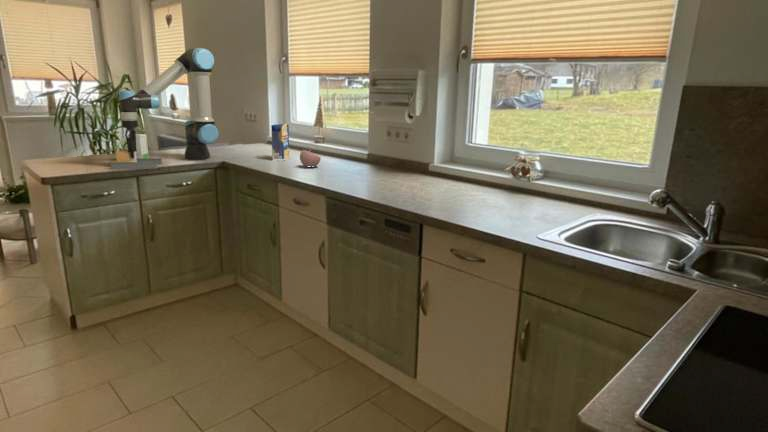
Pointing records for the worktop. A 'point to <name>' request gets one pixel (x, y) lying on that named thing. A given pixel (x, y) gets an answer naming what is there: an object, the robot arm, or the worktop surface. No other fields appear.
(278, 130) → the beverage box
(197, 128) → the robot arm
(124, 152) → the orange block
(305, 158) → the reddish-brown rounded lump
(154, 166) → the channel
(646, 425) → the worktop surface
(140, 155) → the skincare box
